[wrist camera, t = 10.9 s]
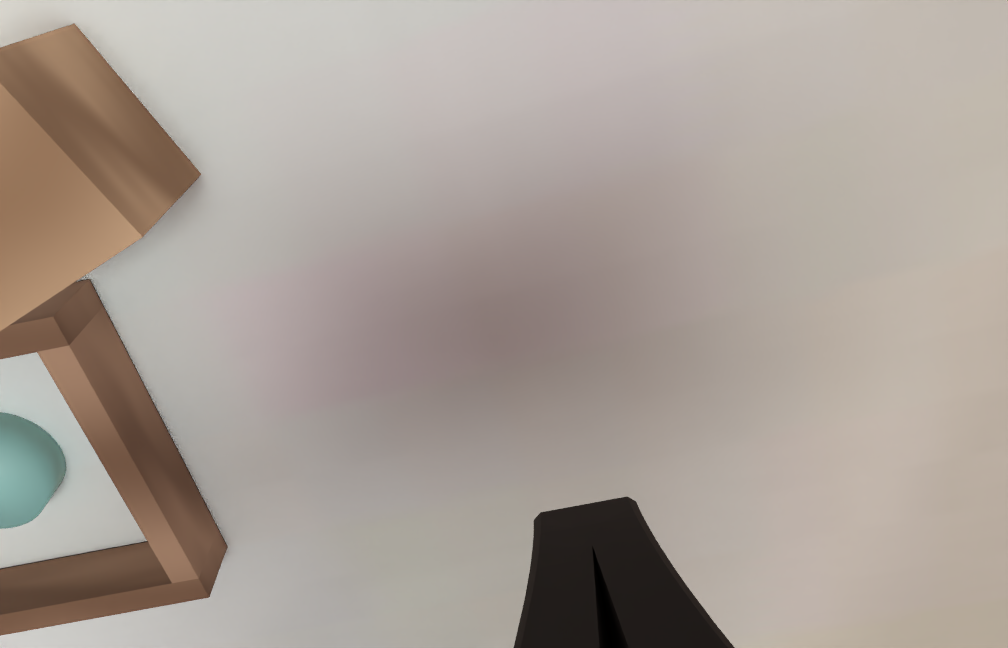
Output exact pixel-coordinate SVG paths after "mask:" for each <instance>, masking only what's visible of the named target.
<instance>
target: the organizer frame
mask: <svg viewBox="0 0 1008 648" xmlns="http://www.w3.org/2000/svg"><path fill="white" fill-rule="evenodd" d="M34 352H37V353H38V354H39V356H40V358H41V359H42V361H43V363H44V365H45V366H46V368H47V370H48V371H49V373H50V375H51V377H52V378H53V380H54V382H55V383H56V385H57V387H58V389H59V390H60V392H61V394H62V395H63V397H64V399H65V401H66V402H67V404H68V406H69V407H70V409H71V411H72V413H73V414H74V416H75V418H76V419H77V421H78V423H79V425H80V426H81V428H82V430H83V431H84V433H85V435H86V437H87V438H88V440H89V442H90V443H91V445H92V447H93V449H94V450H95V452H96V454H97V455H98V457H99V459H100V461H101V462H102V464H103V466H104V467H105V469H106V471H107V473H108V474H109V476H110V478H111V479H112V481H113V483H114V485H115V486H116V488H117V490H118V491H119V493H120V495H121V497H122V498H123V500H124V502H125V503H126V505H127V507H128V509H129V510H130V512H131V514H132V515H133V517H134V519H135V521H136V522H137V524H138V526H139V527H140V529H141V531H142V533H143V534H144V536H145V538H146V539H147V541H148V542H144V543H138V544H133V545H128V546H122V547H117V548H112V549H106V550H101V551H96V552H90V553H85V554H80V555H74V556H69V557H64V558H58V559H53V560H47V561H42V562H37V563H31V564H26V565H21V566H15V567H10V568H5V569H0V635H5V634H11V633H16V632H22V631H27V630H33V629H38V628H44V627H49V626H55V625H60V624H66V623H71V622H77V621H82V620H88V619H93V618H99V617H104V616H110V615H115V614H121V613H126V612H132V611H137V610H143V609H148V608H153V607H159V606H164V605H170V604H175V603H181V602H186V601H192V600H197V599H203V598H208V597H210V594H211V591H212V588H213V585H214V583H215V580H216V577H217V574H218V571H219V569H220V566H221V563H222V560H223V558H224V555H225V552H226V549H227V545H226V544H225V542H224V540H223V538H222V536H221V534H220V532H219V530H218V528H217V526H216V524H215V522H214V520H213V518H212V516H211V514H210V513H209V511H208V509H207V507H206V505H205V503H204V501H203V499H202V497H201V495H200V493H199V491H198V489H197V487H196V485H195V483H194V481H193V480H192V478H191V476H190V474H189V472H188V470H187V468H186V466H185V464H184V462H183V460H182V458H181V456H180V454H179V452H178V450H177V449H176V447H175V445H174V443H173V441H172V439H171V437H170V435H169V433H168V431H167V429H166V427H165V425H164V423H163V421H162V419H161V417H160V416H159V414H158V412H157V410H156V408H155V406H154V404H153V402H152V400H151V398H150V396H149V394H148V392H147V390H146V388H145V386H144V385H143V383H142V381H141V379H140V377H139V375H138V373H137V371H136V369H135V367H134V365H133V363H132V361H131V359H130V357H129V355H128V353H127V352H126V350H125V348H124V346H123V344H122V342H121V340H120V338H119V336H118V334H117V332H116V330H115V328H114V326H113V324H112V322H111V321H110V319H109V317H108V315H107V313H106V311H105V309H104V307H103V305H102V303H101V301H100V299H99V297H98V295H97V293H96V291H95V289H94V288H93V286H92V284H91V282H90V280H89V279H88V280H84V281H79V282H74V283H72V284H71V285H69V286H68V287H66V288H65V289H63V290H62V291H60V292H59V293H57V294H56V295H54V296H53V297H51V298H50V299H48V300H47V301H45V302H44V303H42V304H41V305H39V306H38V307H36V308H35V309H33V310H31V311H30V312H28V313H27V314H25V315H24V316H22V317H21V318H19V319H18V320H16V321H15V322H13V323H12V324H10V325H9V326H7V327H6V328H4V329H3V330H1V331H0V359H4V358H9V357H14V356H19V355H24V354H29V353H34Z"/></svg>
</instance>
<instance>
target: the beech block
mask: <svg viewBox="0 0 1008 648" xmlns="http://www.w3.org/2000/svg"><path fill="white" fill-rule="evenodd" d="M200 175H201V173H200V172H199V171H198V170H197V169H196V167H195V166H194V165H193V164H192V163H191V162H190V160H189V159H188V158H187V157H186V156H185V154H184V153H183V152H182V151H181V150H180V148H179V147H178V146H177V145H176V144H175V142H174V141H173V140H172V139H171V138H170V137H169V135H168V134H167V133H166V132H165V131H164V129H163V128H162V127H161V126H160V125H159V123H158V122H157V121H156V120H155V119H154V118H153V116H152V115H151V114H150V113H149V112H148V110H147V109H146V108H145V107H144V106H143V104H142V103H141V102H140V101H139V100H138V98H137V97H136V96H135V95H134V94H133V93H132V91H131V90H130V89H129V88H128V87H127V85H126V84H125V83H124V82H123V81H122V79H121V78H120V77H119V76H118V75H117V74H116V72H115V71H114V70H113V69H112V68H111V66H110V65H109V64H108V63H107V62H106V60H105V59H104V58H103V57H102V56H101V54H100V53H99V52H98V51H97V50H96V49H95V47H94V46H93V45H92V44H91V43H90V41H89V40H88V39H87V38H86V37H85V35H84V34H83V33H82V32H81V31H80V30H79V28H78V27H77V26H76V25H75V24H72V25H69V26H66V27H63V28H60V29H57V30H54V31H50V32H47V33H44V34H41V35H38V36H35V37H32V38H29V39H26V40H23V41H20V42H16V43H13V44H10V45H7V46H4V47H1V48H0V331H1V330H3V329H4V328H6V327H7V326H9V325H10V324H12V323H13V322H15V321H16V320H18V319H19V318H21V317H22V316H24V315H25V314H27V313H28V312H30V311H31V310H33V309H35V308H36V307H38V306H39V305H41V304H42V303H44V302H45V301H47V300H48V299H50V298H51V297H53V296H54V295H56V294H57V293H59V292H60V291H62V290H63V289H65V288H66V287H68V286H69V285H71V284H72V283H74V282H75V281H77V280H78V279H80V278H81V277H83V276H84V275H86V274H87V273H89V272H91V271H92V270H94V269H95V268H97V267H98V266H100V265H101V264H103V263H104V262H106V261H107V260H109V259H110V258H112V257H113V256H115V255H116V254H118V253H119V252H121V251H122V250H124V249H125V248H127V247H128V246H130V245H131V244H133V243H134V242H136V241H137V240H139V239H140V238H142V237H143V236H144V235H145V234H146V233H147V232H148V231H149V230H150V229H151V228H152V226H153V225H154V224H155V223H156V222H157V221H158V220H159V219H160V218H161V217H162V216H163V215H164V214H165V213H166V212H167V210H168V209H169V208H170V207H171V206H172V205H173V204H174V203H175V202H176V201H177V200H178V199H179V198H180V197H181V195H182V194H183V193H184V192H185V191H186V190H187V189H188V188H189V187H190V186H191V185H192V184H193V183H194V182H195V181H196V179H197V178H198V177H199V176H200Z"/></svg>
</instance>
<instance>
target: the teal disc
mask: <svg viewBox="0 0 1008 648" xmlns="http://www.w3.org/2000/svg"><path fill="white" fill-rule="evenodd" d="M65 471H66V462H65V457H64V455H63V452H62V450H61V448H60V446H59V445H58V444H57V442H56V441H55V440H54V439H53V438H52V436H51V435H49V434H48V433H47V432H46V431H45V430H43V429H42V428H41V427H39V426H38V425H36V424H34V423H33V422H31V421H28V420H26V419H24V418H21V417H18V416H15V415H11V414H7V413H1V412H0V529H1V528H12V527H17V526H21V525H23V524H26V523H28V522H30V521H32V520H33V519H34V518H36V517H37V516H38V515H39V514H40V513H41V511H42V510H43V508H44V507H45V506H46V504H47V503H48V501H49V500H50V498H51V497H52V495H53V494H54V492H55V491H56V489H57V488H58V486H59V485H60V483H61V482H62V480H63V478H64V476H65Z"/></svg>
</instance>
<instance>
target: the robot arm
mask: <svg viewBox="0 0 1008 648" xmlns="http://www.w3.org/2000/svg"><path fill="white" fill-rule="evenodd" d="M514 648H734V647H733V645H732V644H731V643H730V642H729V640H728V639H727V638H726V637H725V635H724V634H723V633H722V632H721V630H720V629H719V628H718V627H717V625H716V624H715V623H714V622H713V620H712V619H711V618H710V616H709V615H708V614H707V612H706V611H705V610H704V608H703V607H702V606H701V604H700V603H699V602H698V600H697V599H696V598H695V596H694V595H693V594H692V592H691V591H690V590H689V588H688V587H687V586H686V584H685V583H684V581H683V580H682V579H681V577H680V576H679V574H678V573H677V571H676V570H675V568H674V567H673V565H672V564H671V562H670V561H669V559H668V558H667V556H666V555H665V553H664V552H663V550H662V549H661V547H660V545H659V544H658V542H657V541H656V539H655V537H654V536H653V534H652V532H651V530H650V529H649V527H648V525H647V523H646V521H645V519H644V518H643V516H642V514H641V512H640V510H639V507H638V505H637V503H636V501H634V500H632V499H630V498H629V497H622V498H617V499H612V500H606V501H601V502H595V503H590V504H584V505H579V506H574V507H568V508H563V509H557V510H552V511H546V512H541V513H540V514H539V515H538V516H537V517H536V518H535V519H534V539H533V551H532V559H531V566H530V573H529V579H528V584H527V590H526V596H525V601H524V605H523V610H522V614H521V618H520V623H519V627H518V632H517V636H516V640H515V645H514Z"/></svg>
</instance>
